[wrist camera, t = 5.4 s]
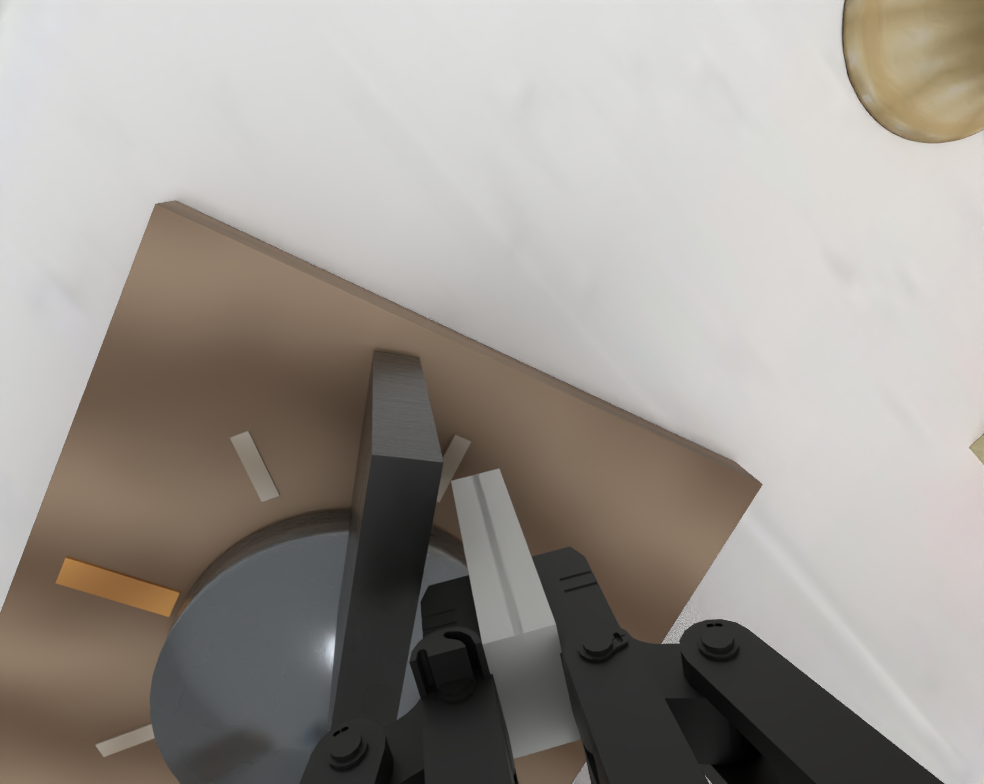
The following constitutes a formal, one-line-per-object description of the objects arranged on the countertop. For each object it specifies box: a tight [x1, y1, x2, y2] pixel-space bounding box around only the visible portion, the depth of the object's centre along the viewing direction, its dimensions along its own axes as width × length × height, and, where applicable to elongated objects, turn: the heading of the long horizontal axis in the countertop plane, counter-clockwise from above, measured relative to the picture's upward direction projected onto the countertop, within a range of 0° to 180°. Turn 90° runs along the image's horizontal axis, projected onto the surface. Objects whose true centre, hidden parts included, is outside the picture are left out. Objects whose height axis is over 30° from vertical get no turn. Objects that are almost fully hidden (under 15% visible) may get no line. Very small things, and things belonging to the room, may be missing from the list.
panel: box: [0, 201, 763, 784], centre depth 25 cm, size 24×22×2 cm
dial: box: [150, 350, 469, 784], centre depth 20 cm, size 18×12×8 cm
